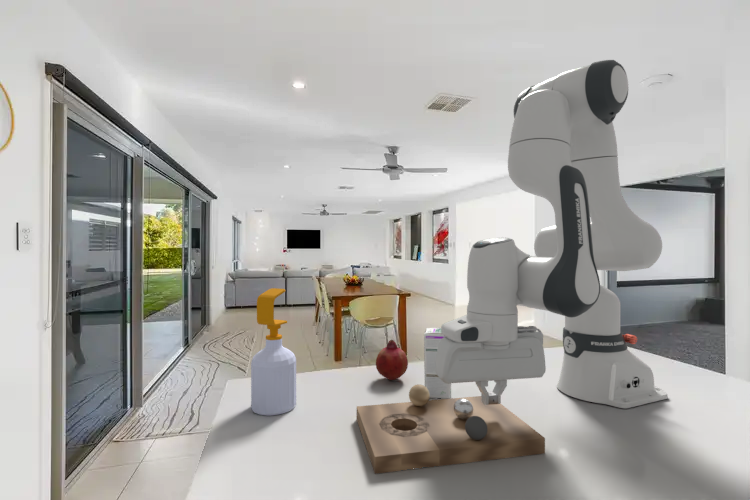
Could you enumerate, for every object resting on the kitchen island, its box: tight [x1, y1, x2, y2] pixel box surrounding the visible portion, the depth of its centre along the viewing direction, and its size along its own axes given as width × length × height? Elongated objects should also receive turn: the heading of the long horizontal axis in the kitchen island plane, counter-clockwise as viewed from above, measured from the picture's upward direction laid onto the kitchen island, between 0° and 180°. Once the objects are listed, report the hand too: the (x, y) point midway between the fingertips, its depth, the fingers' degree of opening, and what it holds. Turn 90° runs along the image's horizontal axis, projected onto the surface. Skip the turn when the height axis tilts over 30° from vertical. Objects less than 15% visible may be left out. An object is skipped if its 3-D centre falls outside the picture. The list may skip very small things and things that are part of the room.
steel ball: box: [453, 399, 473, 420], centre depth 68 cm, size 4×4×4 cm
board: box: [356, 395, 546, 475], centre depth 67 cm, size 28×18×2 cm, turn 101°
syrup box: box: [423, 327, 452, 399], centre depth 86 cm, size 6×6×14 cm
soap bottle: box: [250, 287, 297, 416], centre depth 79 cm, size 9×9×25 cm
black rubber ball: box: [465, 416, 487, 440], centre depth 61 cm, size 4×4×4 cm
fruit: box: [375, 339, 409, 381], centre depth 95 cm, size 8×8×10 cm
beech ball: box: [408, 384, 431, 406], centre depth 74 cm, size 4×4×4 cm
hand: (490, 403), depth 69 cm, fingers closed
